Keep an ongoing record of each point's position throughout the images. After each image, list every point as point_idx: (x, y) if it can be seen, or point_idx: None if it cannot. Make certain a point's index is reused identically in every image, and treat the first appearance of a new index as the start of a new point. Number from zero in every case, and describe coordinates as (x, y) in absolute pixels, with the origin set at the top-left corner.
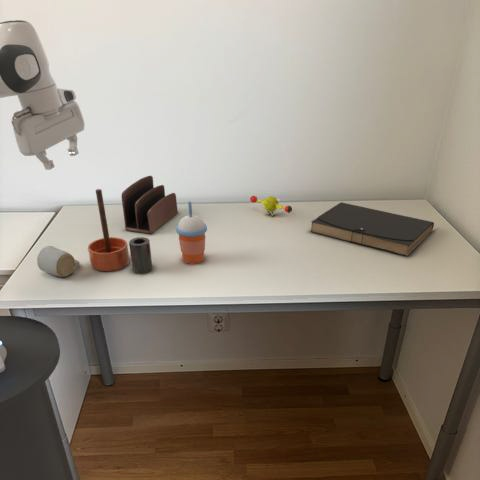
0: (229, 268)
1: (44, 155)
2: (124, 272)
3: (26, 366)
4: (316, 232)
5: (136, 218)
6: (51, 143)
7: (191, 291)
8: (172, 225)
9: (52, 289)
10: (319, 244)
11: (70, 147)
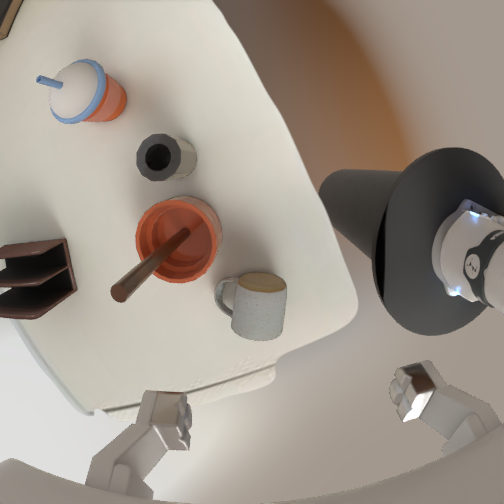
0: (121, 36)
1: (479, 410)
2: (203, 185)
3: (454, 177)
4: (8, 29)
5: (56, 273)
6: (457, 469)
7: (216, 39)
8: (31, 226)
9: (312, 268)
10: (34, 5)
11: (164, 447)
